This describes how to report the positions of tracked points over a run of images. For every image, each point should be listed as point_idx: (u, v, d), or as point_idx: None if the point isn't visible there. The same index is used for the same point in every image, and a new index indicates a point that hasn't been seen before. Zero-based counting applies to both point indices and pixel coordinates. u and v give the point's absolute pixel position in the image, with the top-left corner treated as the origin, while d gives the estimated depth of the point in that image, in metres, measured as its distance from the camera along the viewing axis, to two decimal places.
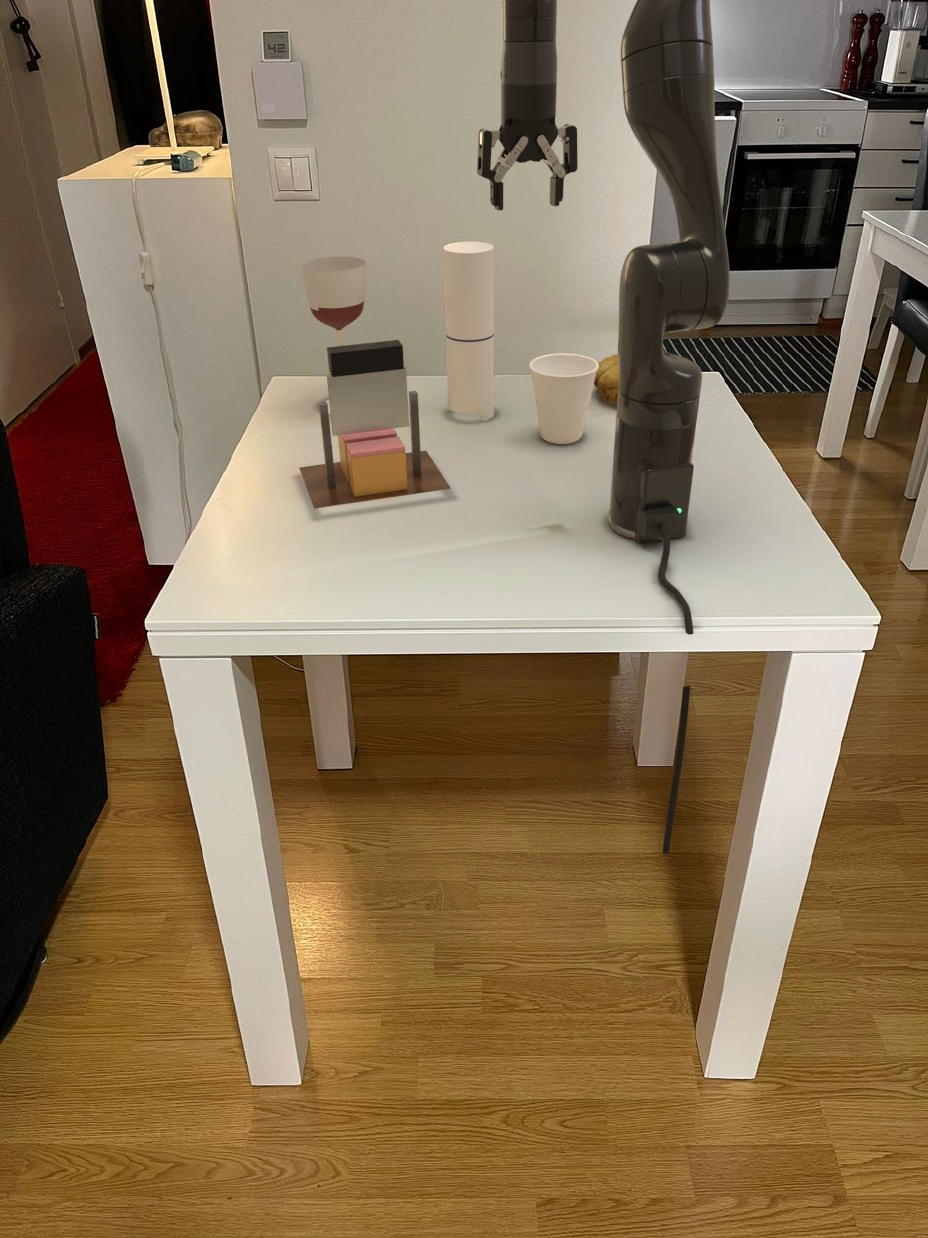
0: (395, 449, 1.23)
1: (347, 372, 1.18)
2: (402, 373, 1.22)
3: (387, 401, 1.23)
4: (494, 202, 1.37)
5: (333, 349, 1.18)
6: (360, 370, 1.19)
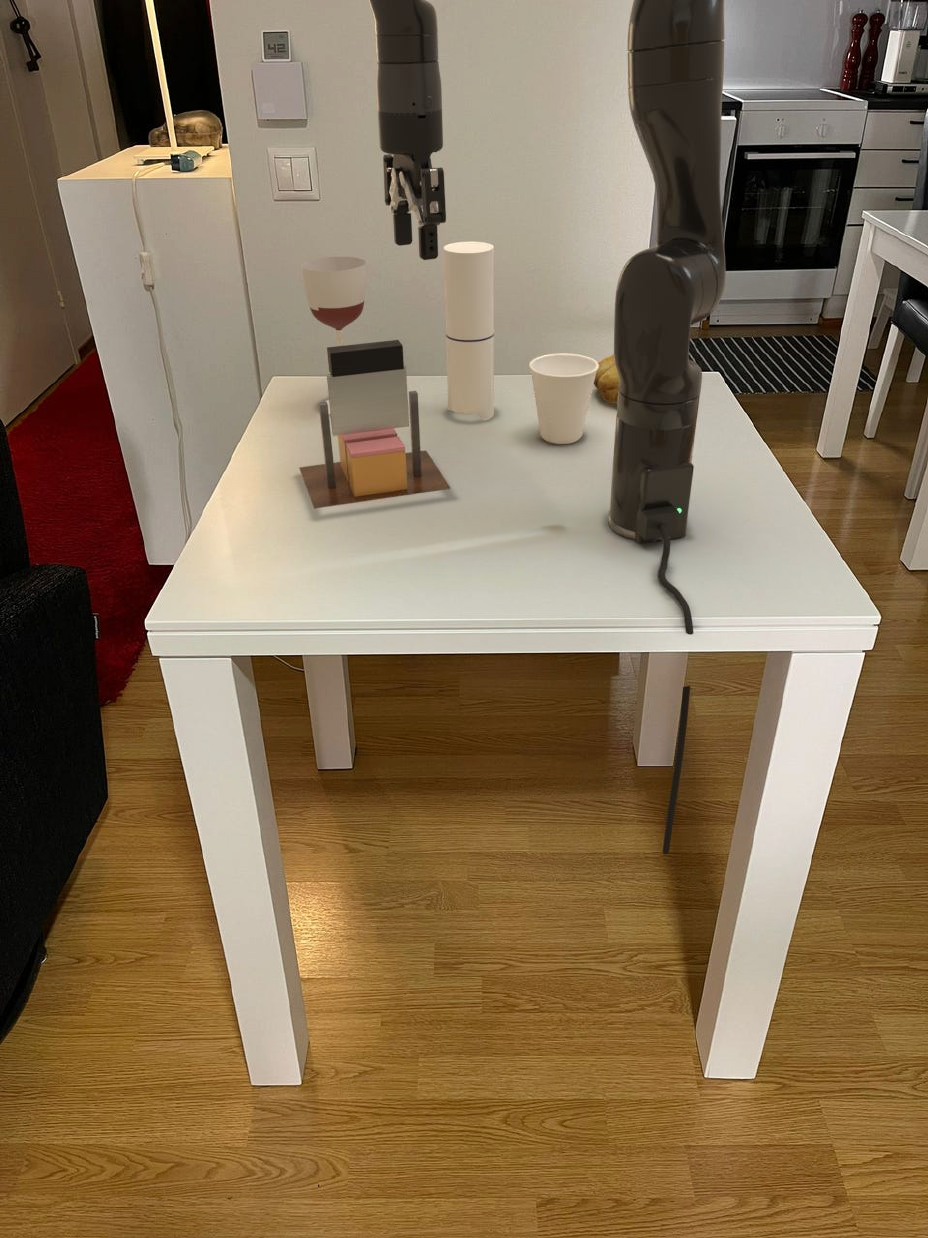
0: (395, 449, 1.23)
1: (347, 372, 1.18)
2: (402, 373, 1.22)
3: (387, 401, 1.23)
4: None
5: (333, 349, 1.18)
6: (360, 370, 1.19)
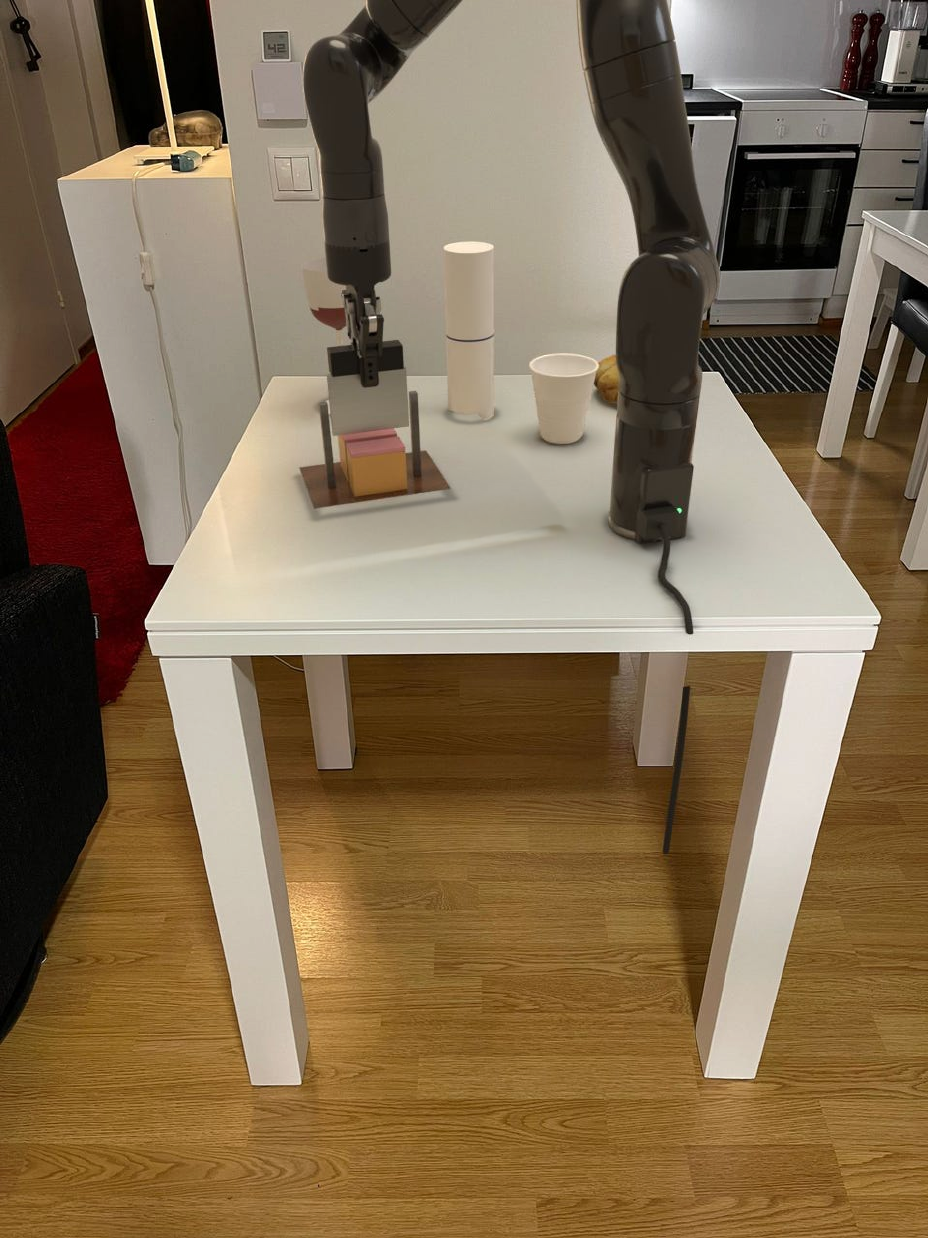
0: (395, 449, 1.23)
1: (347, 372, 1.18)
2: (402, 373, 1.22)
3: (387, 401, 1.23)
4: None
5: (333, 349, 1.18)
6: None
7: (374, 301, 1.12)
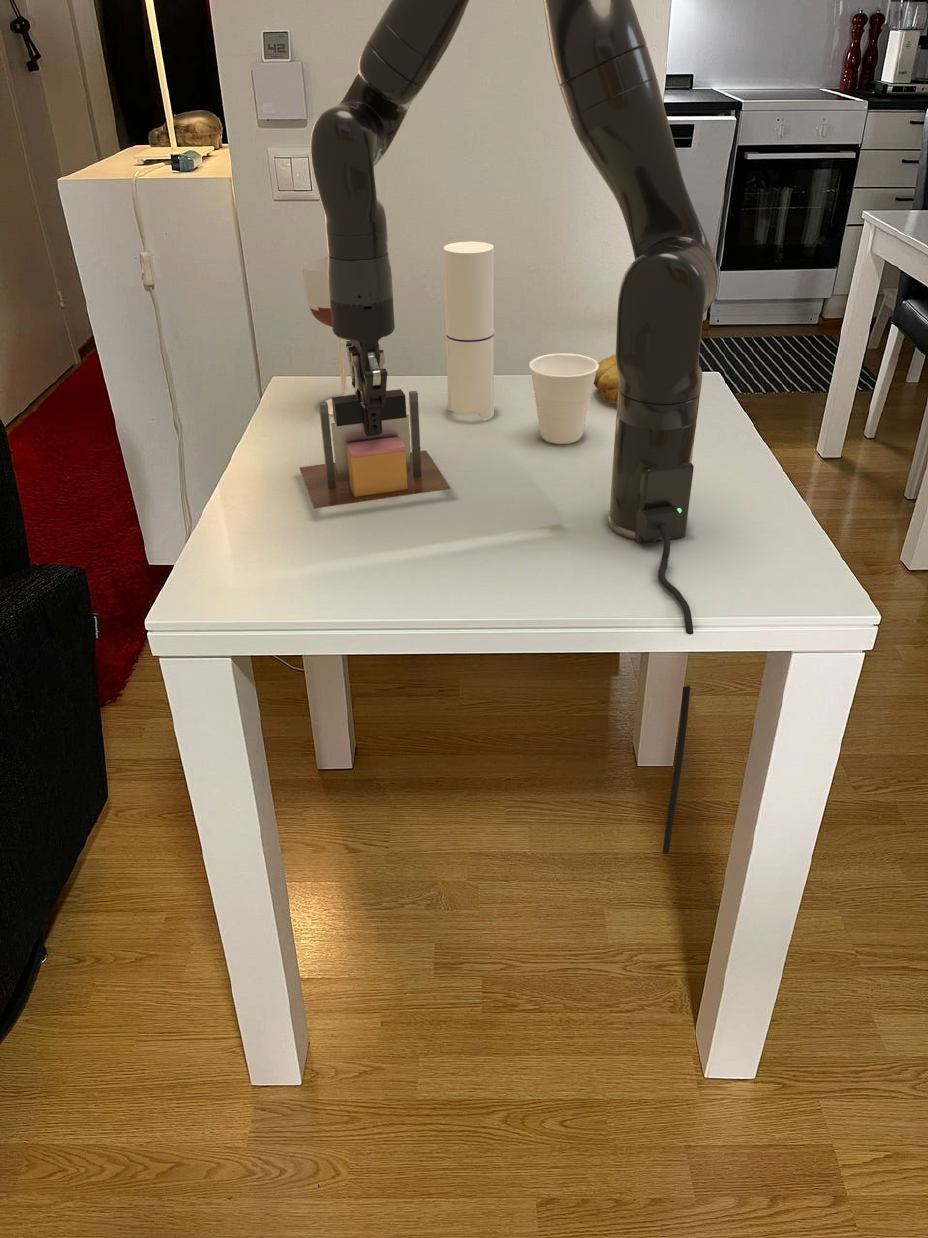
0: (395, 449, 1.23)
1: (351, 421, 1.22)
2: (405, 421, 1.25)
3: None
4: None
5: (338, 399, 1.21)
6: None
7: (378, 355, 1.15)
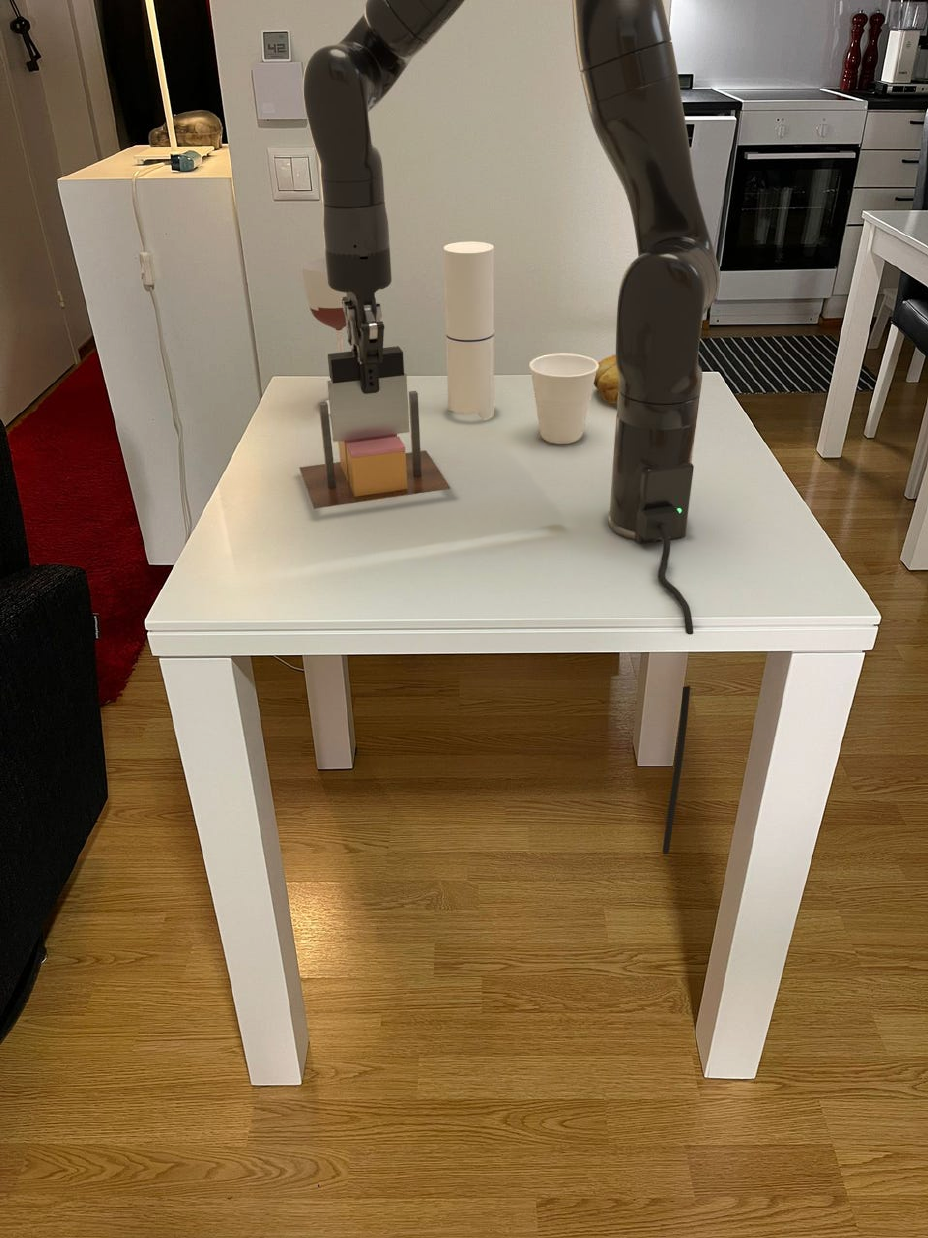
0: (395, 449, 1.23)
1: (348, 378, 1.19)
2: (402, 380, 1.22)
3: (387, 407, 1.23)
4: None
5: (334, 356, 1.18)
6: None
7: (374, 308, 1.12)
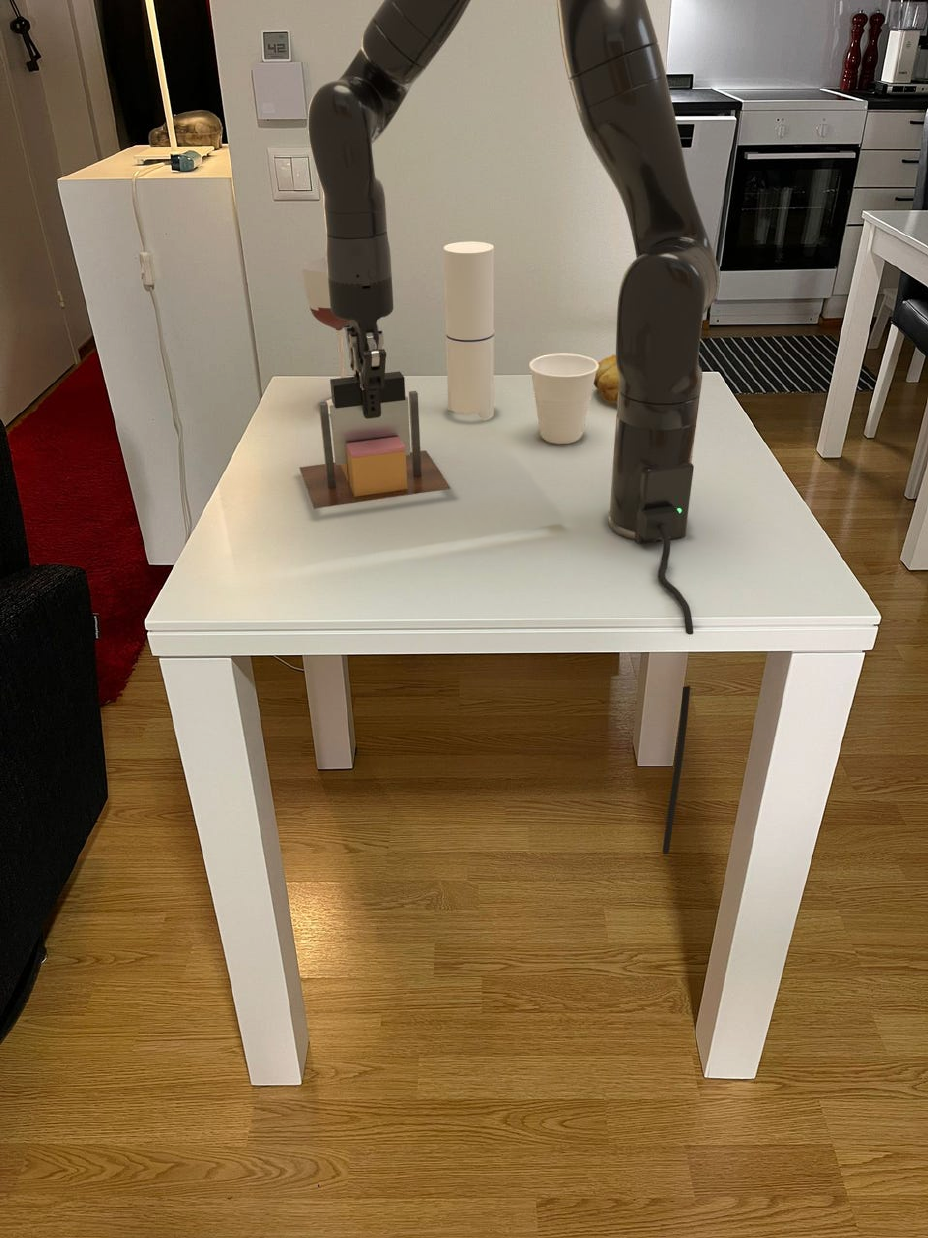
0: (395, 449, 1.23)
1: (350, 404, 1.21)
2: (404, 404, 1.24)
3: (389, 431, 1.25)
4: None
5: (336, 381, 1.20)
6: None
7: (377, 336, 1.14)
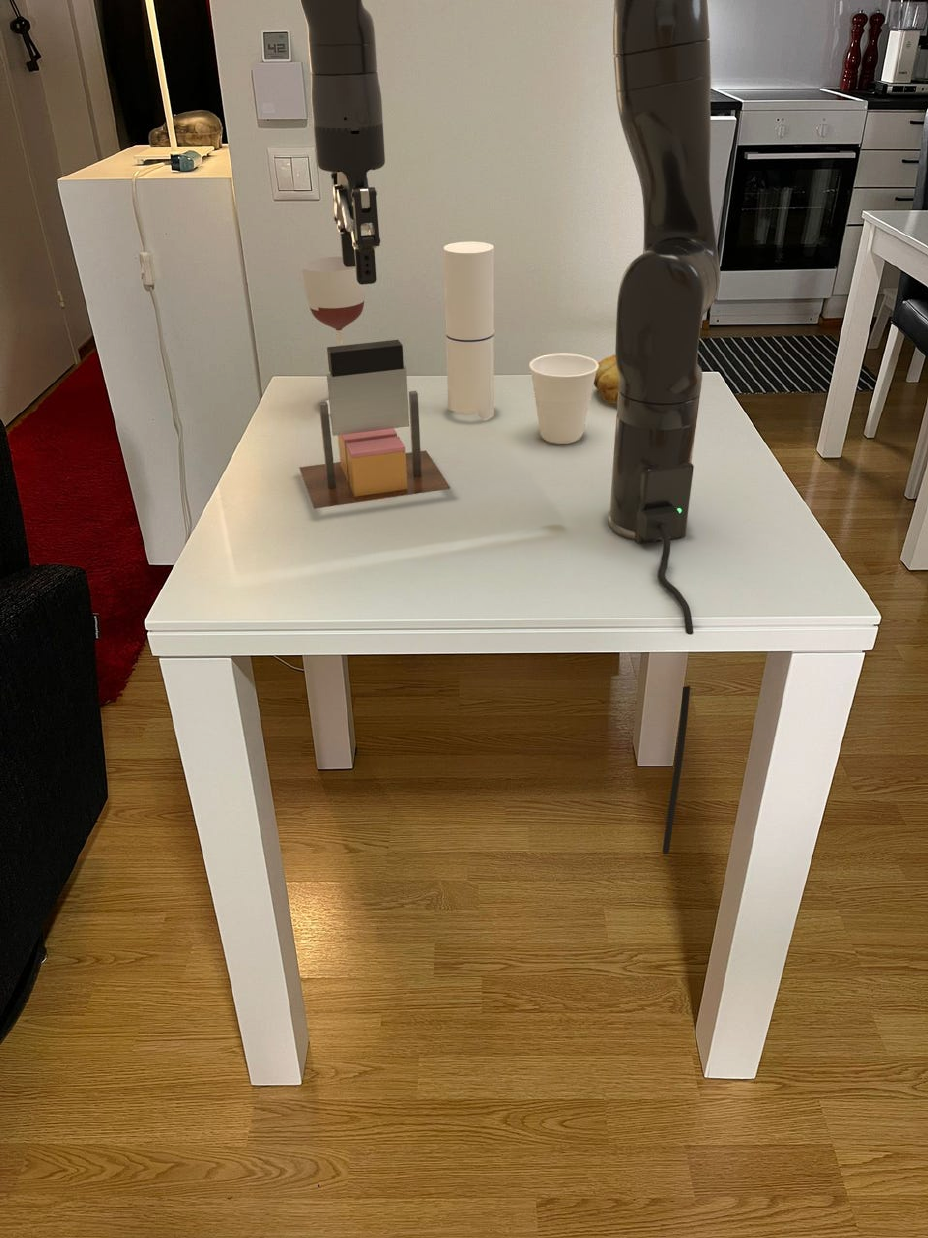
0: (395, 449, 1.23)
1: (347, 372, 1.18)
2: (402, 373, 1.22)
3: (387, 401, 1.23)
4: None
5: (333, 349, 1.18)
6: (360, 370, 1.19)
7: None
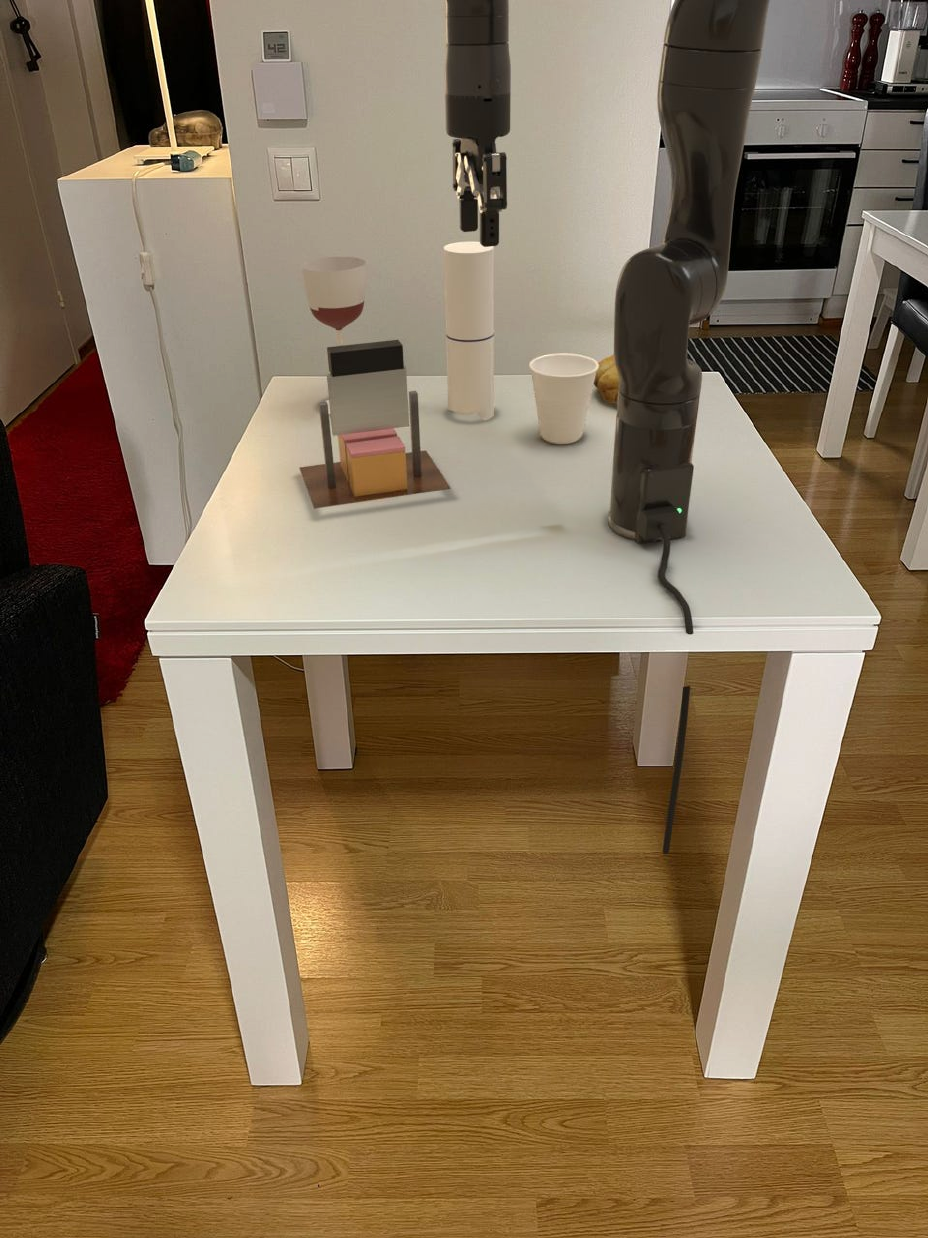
0: (395, 449, 1.23)
1: (347, 372, 1.18)
2: (402, 373, 1.22)
3: (387, 401, 1.23)
4: None
5: (333, 349, 1.18)
6: (360, 370, 1.19)
7: None
